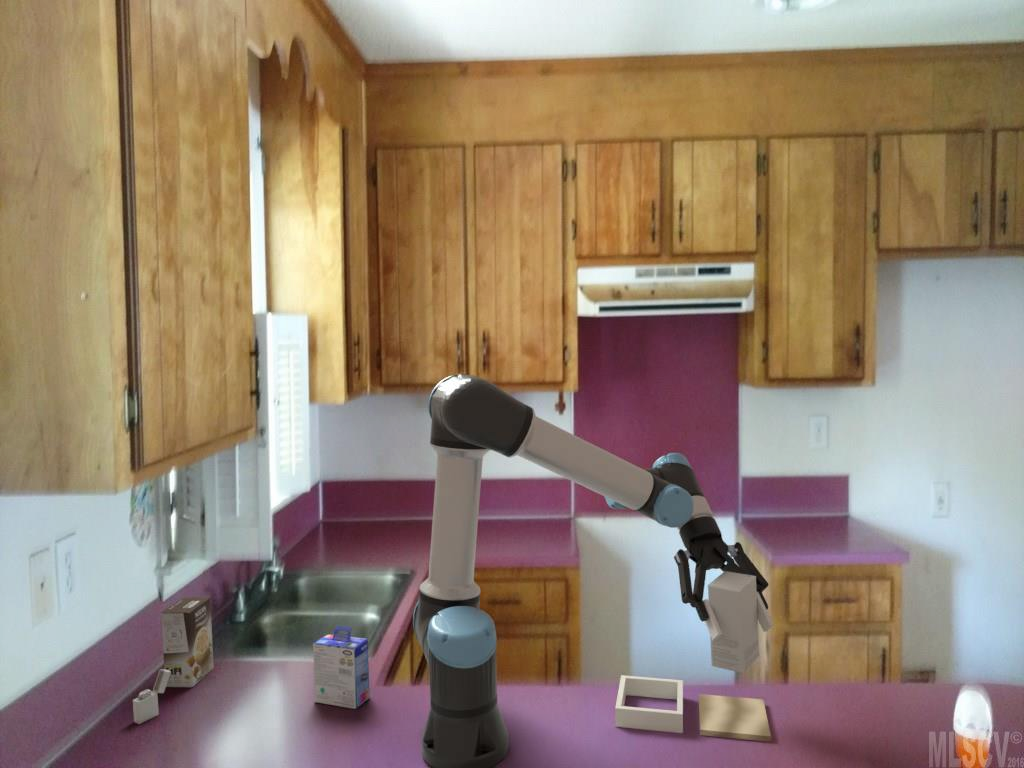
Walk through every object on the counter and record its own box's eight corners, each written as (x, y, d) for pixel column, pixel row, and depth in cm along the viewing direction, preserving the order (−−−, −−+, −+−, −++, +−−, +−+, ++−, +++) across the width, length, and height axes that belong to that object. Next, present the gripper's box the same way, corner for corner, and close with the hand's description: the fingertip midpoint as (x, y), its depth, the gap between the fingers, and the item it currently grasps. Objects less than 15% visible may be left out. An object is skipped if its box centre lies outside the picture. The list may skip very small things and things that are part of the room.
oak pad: (700, 734, 132) (700, 729, 132) (698, 698, 145) (698, 693, 145) (771, 741, 130) (771, 736, 129) (763, 704, 142) (763, 699, 142)
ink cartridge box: (371, 696, 149) (369, 626, 148) (357, 710, 144) (354, 638, 143) (329, 690, 152) (326, 621, 151) (313, 703, 147) (310, 632, 146)
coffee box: (193, 688, 154) (189, 612, 153) (164, 687, 155) (159, 612, 154) (214, 667, 164) (210, 596, 162) (186, 667, 164) (182, 596, 163)
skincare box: (728, 649, 142) (724, 569, 141) (762, 656, 138) (758, 575, 136) (710, 666, 135) (705, 583, 134) (745, 675, 131) (740, 589, 130)
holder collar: (615, 726, 136) (615, 708, 135) (621, 692, 148) (621, 675, 148) (682, 733, 133) (682, 714, 133) (682, 697, 146) (682, 680, 145)
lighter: (138, 724, 140) (136, 683, 140) (133, 721, 141) (130, 681, 141) (173, 707, 146) (170, 668, 146) (167, 705, 147) (165, 666, 147)
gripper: (737, 528, 153) (786, 632, 139) (638, 540, 146) (679, 650, 133) (753, 508, 147) (806, 615, 134) (651, 520, 141) (695, 633, 127)
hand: (743, 632), depth 133 cm, fingers closed on skincare box, 10 cm apart
